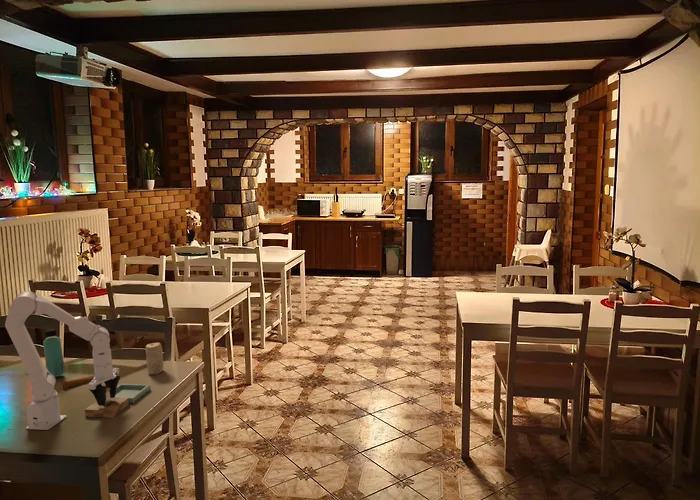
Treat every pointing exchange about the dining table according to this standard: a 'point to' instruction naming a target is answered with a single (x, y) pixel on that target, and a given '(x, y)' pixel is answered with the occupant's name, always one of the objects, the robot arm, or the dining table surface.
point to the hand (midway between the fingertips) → (106, 401)
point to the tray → (131, 391)
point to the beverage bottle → (53, 353)
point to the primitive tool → (77, 382)
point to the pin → (107, 397)
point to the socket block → (107, 408)
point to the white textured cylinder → (154, 358)
